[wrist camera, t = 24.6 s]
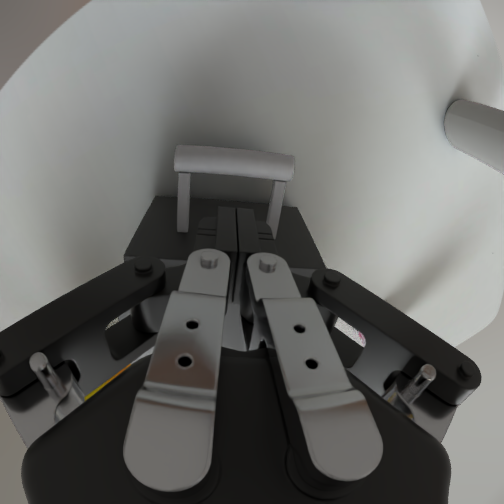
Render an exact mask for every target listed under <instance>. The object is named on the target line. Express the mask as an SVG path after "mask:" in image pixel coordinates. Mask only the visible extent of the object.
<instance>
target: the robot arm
mask: <svg viewBox="0 0 504 504" xmlns="http://www.w3.org/2000/svg"><path fill="white" fill-rule="evenodd" d="M232 294H233V305H240V314H239V327H240V333H241V339H242V345H243V351H238V350H234V349H230V348H226V347H222V338H223V328H224V318H225V315H226V313H227V306H228V304H229V305H231V302H232ZM128 310H130V315H128V316H127V317H125V318H124V319H122V320H121V321H119V322H117V323H116V324H114V325H113V326H111V327H110V328H108V329H107V330H105V329H106V327H107V325H108V324H109V323H110V322H111V321H112V320H114V319H116V318H117V317H119V316H120V315H122V314H123V313H125V312H127V311H128ZM338 317H339V318H341V319H342V320H343V321H345V322H346V323H348V324H349V325H351V326H352V327H353V328H355V329H356V330H358V331H359V332H360V333H362V335H363V336H364V338H365V340H366V344H365V347H362V346H360V345H359V344H358V343H356V342H355V341H354V340H352V339H351V338H349V337H348V336H347V335H345V334H344V333H342V332H341V331H340V330H338V329H337V328H336V327H334V326H335V324H336V321H337V319H338ZM153 346H154V349H153V353H152V354H150V355H147V356H145V357H143V358H141V359H139V360H137V361H136V362H134V363H133V364H131V365H130V366H129V367H128V368H126V369H125V370H124V371H122V372H121V373H120V374H119V375H117V376H116V377H115V378H114V379H112V380H111V381H110V382H109V383H107V384H106V385H105V386H104V387H102V388H101V389H100V390H99V391H97V392H96V393H95V394H94V395H92V396H91V397H90V398H88V399H87V400H86V401H85V396H87V395H88V394H90V393H91V392H92V391H94V390H95V389H96V388H98V387H99V386H101V385H102V384H103V383H105V382H106V381H107V380H109V379H110V378H111V377H113V376H114V375H116V374H117V373H118V372H120V371H121V370H122V369H124V368H125V367H126V366H128V365H129V364H130V363H132V362H133V361H134V360H136V359H137V358H139V357H140V356H141V355H143V354H144V353H145V352H147V351H148V350H149V349H151V348H152V347H153ZM480 383H481V373H480V370H479V368H478V367H477V365H476V364H475V362H474V361H472V360H471V359H470V358H468V357H467V356H466V355H464V354H463V353H461V352H460V351H458V350H457V349H456V348H454V347H453V346H451V345H450V344H448V343H447V342H445V341H444V340H443V339H441V338H440V337H438V336H437V335H435V334H434V333H432V332H431V331H429V330H428V329H426V328H425V327H423V326H422V325H420V324H419V323H417V322H416V321H414V320H413V319H411V318H410V317H408V316H407V315H405V314H404V313H402V312H401V311H399V310H398V309H396V308H395V307H393V306H392V305H390V304H389V303H387V302H386V301H384V300H382V299H381V298H379V297H378V296H376V295H375V294H373V293H372V292H370V291H369V290H367V289H365V288H364V287H362V286H361V285H359V284H358V283H356V282H355V281H353V280H351V279H350V278H348V277H347V276H345V275H344V274H342V273H340V272H338V271H336V270H332V269H327V268H322V269H317V270H315V271H314V272H313V273H312V276H311V278H309V277H305V276H302V275H298V274H295V273H293V272H291V271H290V269H289V266H288V264H287V262H286V261H285V260H284V259H283V258H281V257H279V255H278V252H277V248H276V244H275V241H274V237H273V233H272V230H271V227H270V226H269V225H268V224H267V223H266V222H265V221H256V220H255V215H254V210H253V209H245V208H236V212H235V208H232V207H220V206H218V216H217V217H204V218H203V219H202V220H201V221H199V225H198V230H197V236H196V241H195V247H194V252H193V253H191V254H190V255H189V257H188V260H187V263H185V264H183V265H180V266H176V267H169V268H165V265H164V263H163V262H162V261H161V260H160V259H158V258H156V257H152V256H139V257H135V258H132V259H130V260H128V261H126V262H124V263H122V264H120V265H119V266H117V267H115V268H113V269H111V270H109V271H107V272H105V273H103V274H101V275H100V276H98V277H96V278H94V279H92V280H90V281H88V282H86V283H85V284H83V285H81V286H79V287H77V288H75V289H74V290H72V291H70V292H68V293H66V294H65V295H63V296H61V297H59V298H57V299H56V300H54V301H52V302H50V303H49V304H47V305H45V306H43V307H42V308H40V309H38V310H37V311H35V312H33V313H31V314H30V315H28V316H26V317H25V318H23V319H21V320H20V321H18V322H16V323H15V324H13V325H11V326H10V327H8V328H6V329H5V330H3V331H1V332H0V400H1V402H3V405H4V407H5V408H6V411H7V413H8V415H9V417H10V418H11V420H12V422H13V424H14V426H15V427H16V429H17V431H18V433H19V435H20V436H21V438H22V440H23V442H24V443H25V445H26V446H27V448H28V450H27V452H26V453H25V456H24V459H23V463H22V471H21V477H22V484H23V488H24V491H25V494H26V497H27V500H28V503H29V504H448V494H449V485H450V478H451V464H450V459H449V456H448V454H447V452H446V450H445V448H444V447H443V445H442V444H441V442H442V440H443V438H444V436H445V434H446V432H447V429H448V427H449V425H450V423H451V421H452V418H453V416H454V413H455V411H456V408H457V407H458V406H459V405H460V404H461V403H462V402H463V401H464V400H466V399H467V397H468V396H469V395H471V394H472V393H473V391H475V390H476V389H477V387H478V386H479V385H480Z"/></svg>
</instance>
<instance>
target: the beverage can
mask: <svg viewBox="0 0 504 504" xmlns="http://www.w3.org/2000/svg"><path fill="white" fill-rule="evenodd" d="M444 127H445V133H446V136H447V139H448V141H449V142H450V144H451V145H452V146H453V147H454V148H456V149H458V150H460V151H462V152H464V153H466V154H468V155H469V156H471V157H473V158H475V159H477V160H479V161H481V162H483V163H484V164H486V165H488V166H490V167H491V168H493V169H495V170H497V171H498V172H500V173H502V174H503V175H504V111H502V110H499V109H496V108H493V107H490V106H486V105H483V104H479V103H476V102H472V101H468V100H464V99H461V100H457V101H455V102H454V103H453V104H452V105H451V106H450V107H449V108H448V110H447V112H446V115H445V120H444Z"/></svg>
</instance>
